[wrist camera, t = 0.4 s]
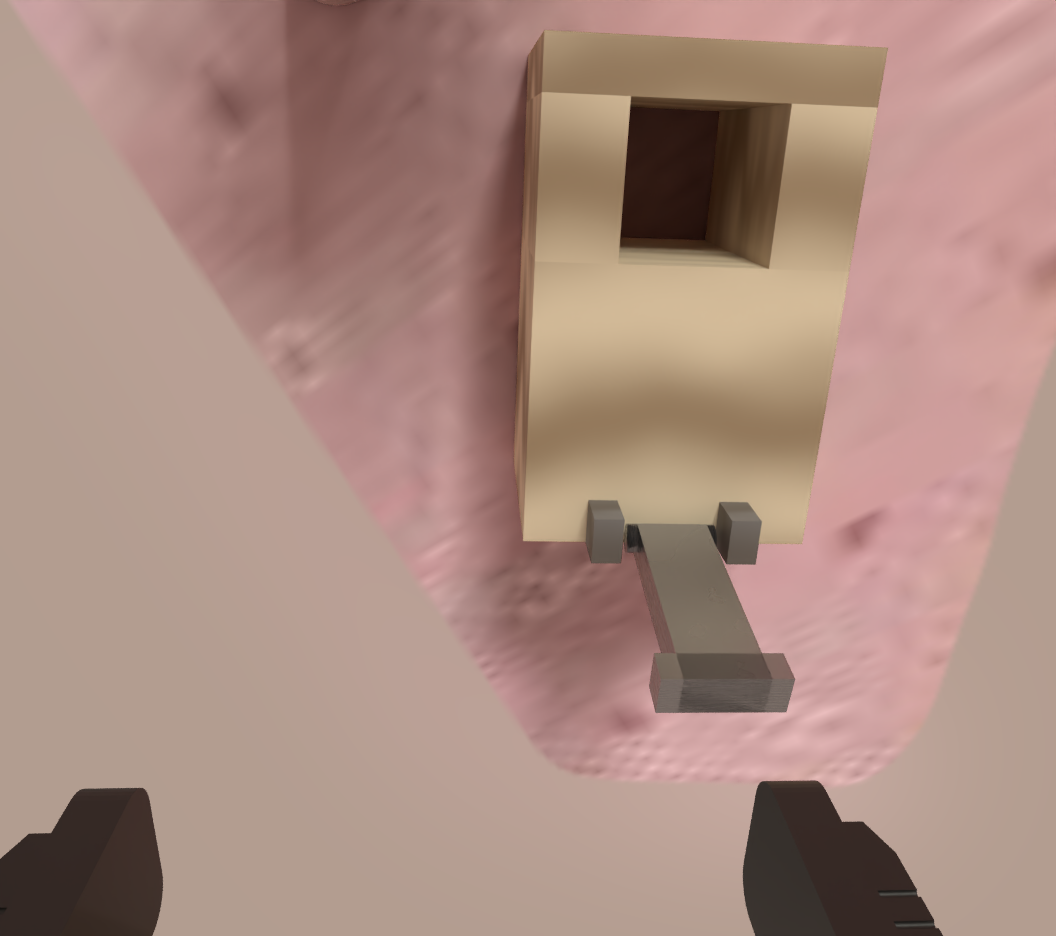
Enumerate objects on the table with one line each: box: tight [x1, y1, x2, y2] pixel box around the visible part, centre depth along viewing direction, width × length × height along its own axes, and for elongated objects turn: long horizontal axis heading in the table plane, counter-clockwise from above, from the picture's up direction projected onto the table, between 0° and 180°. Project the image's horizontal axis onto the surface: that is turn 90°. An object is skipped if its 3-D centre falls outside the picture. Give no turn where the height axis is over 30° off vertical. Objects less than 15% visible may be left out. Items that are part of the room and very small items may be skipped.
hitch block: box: [514, 30, 888, 564], centre depth 30 cm, size 16×10×10 cm, turn 178°
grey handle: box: [624, 524, 795, 713], centre depth 26 cm, size 8×4×1 cm
